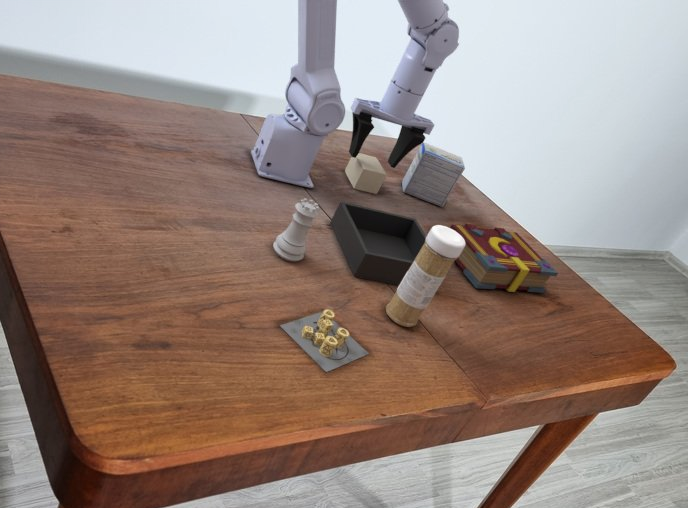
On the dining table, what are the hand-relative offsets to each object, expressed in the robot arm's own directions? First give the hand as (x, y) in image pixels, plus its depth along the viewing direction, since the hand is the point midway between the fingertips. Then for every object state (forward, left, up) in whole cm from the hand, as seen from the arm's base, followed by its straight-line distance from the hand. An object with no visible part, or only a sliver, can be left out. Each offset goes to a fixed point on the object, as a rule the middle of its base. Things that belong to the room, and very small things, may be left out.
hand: (371, 159), depth 121 cm
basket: (-4, -23, -5) cm, 24 cm away
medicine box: (+13, +1, -5) cm, 14 cm away
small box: (0, 0, -5) cm, 5 cm away
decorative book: (+18, -20, -5) cm, 27 cm away
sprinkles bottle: (-6, -37, -5) cm, 38 cm away
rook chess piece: (-20, -27, -5) cm, 34 cm away
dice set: (-19, -44, -5) cm, 48 cm away
